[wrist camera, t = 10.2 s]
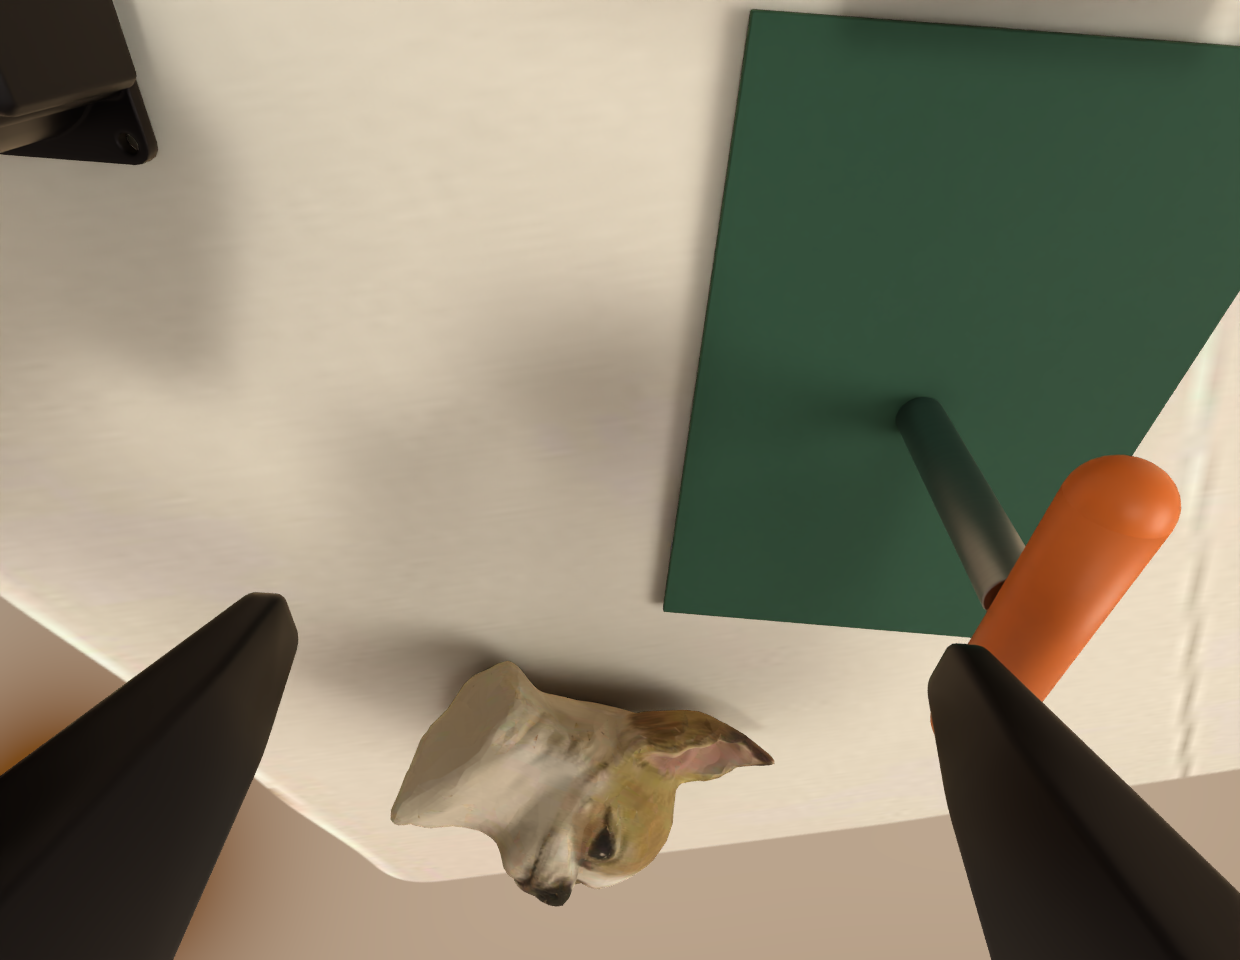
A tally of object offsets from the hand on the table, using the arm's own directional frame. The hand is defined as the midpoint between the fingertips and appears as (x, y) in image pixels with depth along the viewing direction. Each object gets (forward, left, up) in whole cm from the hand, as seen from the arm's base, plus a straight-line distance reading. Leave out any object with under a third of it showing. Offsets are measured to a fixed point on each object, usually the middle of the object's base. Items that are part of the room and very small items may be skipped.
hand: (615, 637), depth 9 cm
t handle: (+9, -4, -12) cm, 16 cm away
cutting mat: (+9, -4, -13) cm, 16 cm away
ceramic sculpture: (-1, -22, -13) cm, 25 cm away
